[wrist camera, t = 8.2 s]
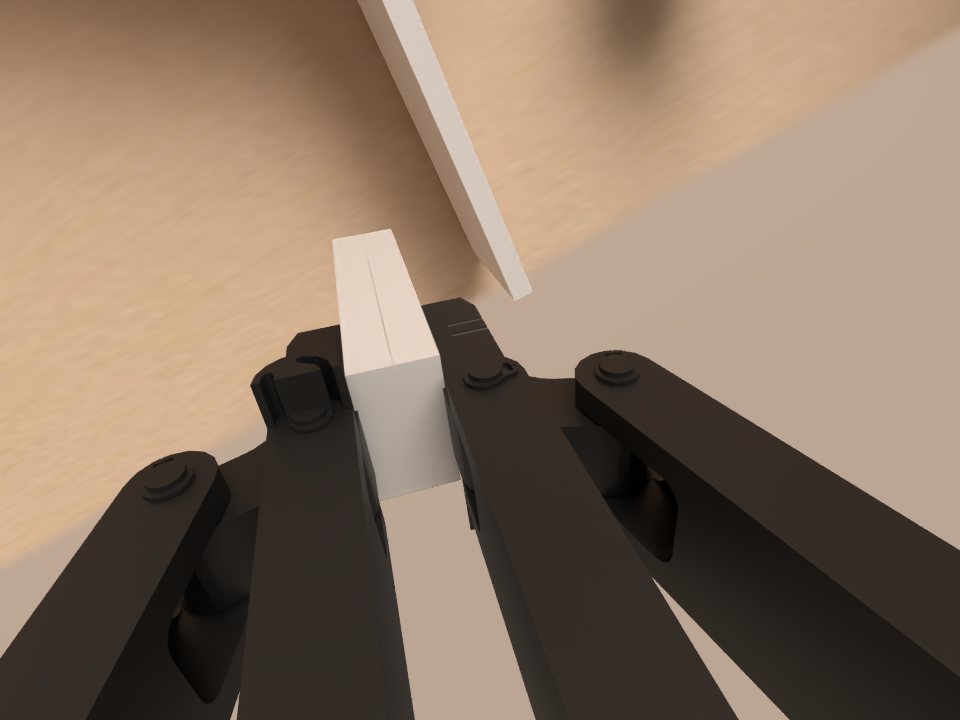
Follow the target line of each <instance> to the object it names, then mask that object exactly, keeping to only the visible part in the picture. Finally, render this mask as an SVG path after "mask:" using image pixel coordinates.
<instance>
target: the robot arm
mask: <svg viewBox="0 0 960 720" xmlns="http://www.w3.org/2000/svg"><path fill="white" fill-rule="evenodd" d="M332 244H333V254H334V265H335V276H336V286H337V297H338V308H339V318H340V325H335V326H330V327H325V328H320V329H316V330H311V331H306V332H301V333H298V334H297V335H296V336H295V337H294V339H293V340H292V341H291V342H290V344H289V345H288V346H287V351H286V357H284V358H281V359H279V360H277V361H275V362H273V363H271V364H269V365H267V366H265V367H264V368H263V369H262V370H261V371H260V372H259V373H257V374H256V375H255V377H254V379H253V381H252V383H251V385H250V386H251V389H252V391H253V394H254V396H255V399H256V401H257V404H258V406H259V409H260V411H261V414H262V416H263V419H264V421H265V424H266V426H267V438H266V441H265V442H263V443H262V444H261V445H259V446H258V447H256V448H255V449H253V450H251V451H249V452H248V453H245V454H243V455H241V456H239V457H237V458H235V459H233V460H230V461H228V462H226V463H224V464H221V465H219V466H218V464H217V462H216V460H215V457H213V456H211V455H210V454H208V453H206V452H201V451H186V452H181V453H177V454H172V455H169V456H166V457H163V458H162V459H159V460H157V461H155V462H153V463H151V464H150V465H148V466H147V467H145V468H144V469H142V470H141V471H139V472H138V473H136V474H135V475H134V476H133V477H132V478H131V479H130V480H129V481H128V482H127V484H126V485H125V486H124V487H123V488H122V489H121V491H120V492H119V494H118V495H117V496H116V498H115V499H114V501H113V502H112V503H111V505H110V506H109V508H108V509H107V510H106V512H105V513H104V515H103V516H102V517H101V519H100V520H99V522H98V523H97V524H96V526H95V527H94V529H93V530H92V532H91V533H90V534H89V535H88V537H87V539H86V540H85V541H84V543H83V544H82V545H81V547H80V548H79V550H78V551H77V552H76V554H75V555H74V556H73V558H72V559H71V561H70V562H69V564H68V565H67V566H66V568H65V569H64V570H63V572H62V573H61V575H60V576H59V577H58V579H57V580H56V582H55V583H54V584H53V586H52V587H51V589H50V590H49V592H48V593H47V594H46V595H45V597H44V598H43V600H42V601H41V602H40V604H39V605H38V607H37V608H36V609H35V611H34V612H33V614H32V615H31V617H30V618H29V619H28V621H27V622H26V623H25V625H24V626H23V628H22V629H21V631H20V632H19V633H18V635H17V636H16V637H15V639H14V640H13V641H12V643H11V644H10V646H9V647H8V648H7V650H6V651H5V653H4V654H3V655H2V657H1V658H0V720H230V718H231V715H232V712H233V709H234V706H235V703H236V700H237V697H238V694H239V691H240V695H239V704H238V714H237V720H415V719H414V712H413V705H412V698H411V692H410V685H409V679H408V672H407V665H406V658H405V652H404V645H403V638H402V632H401V625H400V618H399V612H398V606H397V599H396V592H395V585H394V579H393V572H392V566H391V559H390V552H389V545H388V539H387V533H386V526H385V521H384V517H383V514H382V510H381V507H380V503H379V499H380V501H381V500H385V499H389V498H393V497H397V496H401V495H404V494H408V493H412V492H416V491H420V490H424V489H427V488H431V487H435V486H439V485H443V484H446V483H450V482H454V481H458V480H460V473H461V476H462V480H463V486H464V492H465V498H466V504H467V510H468V516H469V522H470V528H471V530H473V529H475V530H476V534H477V537H478V540H479V543H480V546H481V550H482V553H483V556H484V559H485V562H486V565H487V568H488V571H489V575H490V578H491V581H492V584H493V587H494V590H495V593H496V597H497V599H498V603H499V605H500V609H501V612H502V615H503V619H504V621H505V625H506V628H507V631H508V634H509V637H510V640H511V644H512V647H513V650H514V653H515V656H516V659H517V662H518V665H519V669H520V672H521V675H522V678H523V681H524V684H525V688H526V691H527V694H528V697H529V700H530V703H531V706H532V709H533V712H534V716H535V719H536V720H738V718H737V716H736V715H735V713H734V712H733V710H732V708H731V706H730V705H729V704H728V702H727V700H726V699H725V697H724V695H723V694H722V692H721V690H720V688H719V687H718V685H717V684H716V682H715V680H714V679H713V677H712V675H711V674H710V672H709V670H708V669H707V667H706V665H705V664H704V662H703V661H702V659H701V657H700V656H699V654H698V652H697V651H696V649H695V648H694V646H693V644H692V643H691V641H690V639H689V638H688V636H687V634H686V633H685V631H684V629H683V628H682V626H681V625H680V623H679V621H678V620H677V618H676V616H675V615H674V613H673V611H672V610H671V608H670V607H669V605H668V603H667V602H666V600H665V598H664V597H663V595H662V593H661V592H660V590H659V588H658V587H657V585H656V584H655V582H654V580H653V579H652V577H653V578H654V579H655V580H656V581H657V583H659V585H660V586H661V587H662V588H663V589H664V590H665V591H666V592H667V593H668V594H669V595H670V596H671V597H672V598H673V599H674V600H675V601H676V602H677V603H678V604H679V605H680V606H681V607H682V608H683V609H684V611H685V612H686V613H687V614H688V615H689V616H690V617H691V618H692V619H693V620H694V621H695V622H696V623H697V624H698V625H699V626H700V627H701V628H702V629H703V630H704V631H705V632H706V633H707V634H708V635H709V636H710V638H711V639H712V640H713V641H714V642H715V643H716V644H717V645H718V646H719V647H720V648H721V649H722V650H723V651H724V652H725V653H726V654H727V655H728V656H729V657H730V658H731V659H732V660H733V661H734V662H735V663H736V664H737V666H739V668H740V669H741V670H742V671H743V672H744V673H745V674H746V675H747V676H748V677H749V678H750V679H751V680H752V681H753V682H754V683H755V684H756V685H757V686H758V687H759V688H760V689H761V690H762V691H763V693H765V695H766V696H767V697H768V698H769V699H770V700H771V701H772V702H773V703H774V704H775V705H776V706H777V707H778V708H779V709H780V710H781V711H782V712H783V713H784V714H785V715H786V716H787V717H788V718H789V719H790V720H960V550H958V549H956V548H955V547H954V546H952V545H950V544H949V543H947V542H945V541H944V540H942V539H941V538H939V537H937V536H936V535H934V534H932V533H931V532H929V531H928V530H926V529H924V528H923V527H921V526H919V525H918V524H916V523H914V522H913V521H911V520H910V519H908V518H906V517H905V516H903V515H902V514H900V513H898V512H896V511H895V510H893V509H892V508H890V507H889V506H887V505H885V504H884V503H882V502H880V501H879V500H877V499H876V498H874V497H872V496H870V495H869V494H867V493H866V492H864V491H863V490H861V489H859V488H858V487H856V486H854V485H853V484H851V483H850V482H848V481H846V480H845V479H843V478H841V477H840V476H838V475H836V474H835V473H833V472H832V471H830V470H828V469H827V468H825V467H824V466H822V465H820V464H819V463H817V462H815V461H814V460H812V459H811V458H809V457H807V456H806V455H804V454H803V453H801V452H799V451H798V450H796V449H794V448H793V447H791V446H790V445H788V444H786V443H785V442H783V441H781V440H780V439H778V438H777V437H775V436H773V435H772V434H770V433H768V432H767V431H765V430H764V429H762V428H760V427H759V426H757V425H755V424H754V423H752V422H751V421H749V420H747V419H746V418H744V417H742V416H741V415H739V414H737V413H736V412H734V411H733V410H731V409H729V408H728V407H726V406H725V405H723V404H721V403H720V402H718V401H716V400H715V399H713V398H712V397H710V396H708V395H707V394H705V393H703V392H702V391H700V390H699V389H697V388H695V387H694V386H692V385H691V384H689V383H687V382H686V381H684V380H682V379H681V378H679V377H678V376H676V375H674V374H673V373H671V372H669V371H668V370H666V369H665V368H663V367H661V366H660V365H658V364H656V363H655V362H653V361H651V360H650V359H648V358H646V357H644V356H641V355H639V354H637V353H632V352H626V351H621V350H613V351H611V350H610V351H603V352H599V353H595V354H591V355H589V356H588V357H586V358H584V359H583V360H581V361H580V362H579V364H578V365H577V367H576V368H575V378H564V379H543V378H536V377H530V376H528V374H527V372H526V371H525V369H524V368H523V367H522V366H521V365H520V364H519V363H518V362H517V361H514V360H512V359H509V358H506V357H504V355H503V353H502V352H501V350H500V348H499V347H498V345H497V343H496V342H495V340H494V338H493V336H492V334H491V333H490V331H489V329H487V326H486V324H485V322H484V321H483V319H482V318H481V316H480V314H479V312H478V310H477V309H476V307H475V305H473V304H471V303H469V302H467V301H465V300H463V299H462V298H456V299H451V300H446V301H441V302H437V303H432V304H427V305H422V306H421V305H420V303H419V300H418V297H417V295H416V292H415V290H414V287H413V284H412V282H411V279H410V277H409V274H408V271H407V269H406V266H405V264H404V261H403V259H402V256H401V253H400V251H399V248H398V246H397V243H396V240H395V238H394V235H393V233H392V230H391V229H387V230H381V231H376V232H370V233H365V234H359V235H354V236H349V237H343V238H338V239H332ZM459 470H460V473H459ZM378 495H379V497H378ZM651 576H652V577H651Z"/></svg>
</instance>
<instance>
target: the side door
mask: <svg viewBox="0 0 960 720" xmlns="http://www.w3.org/2000/svg"><path fill="white" fill-rule="evenodd" d="M357 1H358V3H359V5H360V8H361V10H362V12H363V14H364V16H365V18H366V21H367V23H368V25H369V27H370V29H371V31H372V33H373V36H374V38H375V40H376V42H377V44H378V46H379V49H380V51H381V53H382V55H383V57H384V59H385V62H386V64H387V66H388V68H389V70H390V72H391V75H392V77H393V79H394V81H395V83H396V85H397V88H398V90H399V92H400V94H401V96H402V98H403V100H404V103H405V105H406V107H407V109H408V111H409V113H410V116H411V118H412V120H413V122H414V124H415V126H416V129H417V131H418V133H419V135H420V137H421V139H422V142H423V144H424V146H425V148H426V150H427V152H428V154H429V157H430V159H431V161H432V163H433V165H434V167H435V170H436V172H437V174H438V176H439V178H440V180H441V183H442V185H443V187H444V189H445V191H446V193H447V196H448V198H449V200H450V202H451V204H452V206H453V208H454V211H455V213H456V215H457V217H458V219H459V221H460V224H461V226H462V228H463V230H464V232H465V234H466V237H467V239H468V241H469V243H470V245H471V247H472V250H473V252H474V253H475V254H476V255H477V256H478V258H479V259H480V260H481V261H482V262H483V264H484V265H485V266H486V267H487V268H488V270H489V271H490V272H491V273H492V275H493V276H494V277H495V278H496V279H497V281H498V282H499V283H500V284H501V285H502V287H503V288H504V289H505V290H506V291H507V293H508V294H509V295H510V296H511V297H512V299H513V300H514V301H516V300H518V299H520V298H521V297H523V296H525V295H527V294H529V293H531V292H533V291H532V288H531V286H530V283H529V281H528V278H527V276H526V274H525V271H524V269H523V266H522V264H521V262H520V259H519V257H518V254H517V252H516V249H515V247H514V245H513V242H512V240H511V237H510V235H509V232H508V230H507V228H506V225H505V223H504V220H503V218H502V215H501V213H500V211H499V208H498V206H497V203H496V201H495V199H494V196H493V194H492V191H491V189H490V186H489V184H488V182H487V179H486V177H485V174H484V172H483V169H482V167H481V165H480V162H479V160H478V157H477V155H476V152H475V150H474V148H473V145H472V143H471V140H470V138H469V135H468V133H467V131H466V128H465V126H464V123H463V121H462V119H461V116H460V114H459V111H458V109H457V106H456V104H455V102H454V99H453V97H452V94H451V92H450V89H449V87H448V85H447V82H446V80H445V77H444V75H443V72H442V70H441V68H440V65H439V63H438V60H437V58H436V55H435V53H434V51H433V48H432V46H431V43H430V41H429V39H428V36H427V34H426V31H425V29H424V26H423V24H422V22H421V19H420V17H419V14H418V12H417V9H416V7H415V5H414V2H413V0H357Z"/></svg>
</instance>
